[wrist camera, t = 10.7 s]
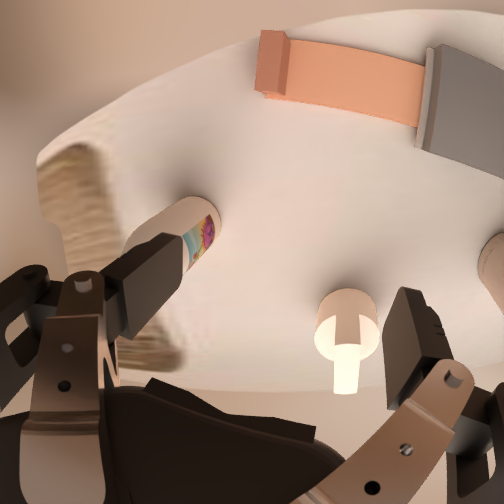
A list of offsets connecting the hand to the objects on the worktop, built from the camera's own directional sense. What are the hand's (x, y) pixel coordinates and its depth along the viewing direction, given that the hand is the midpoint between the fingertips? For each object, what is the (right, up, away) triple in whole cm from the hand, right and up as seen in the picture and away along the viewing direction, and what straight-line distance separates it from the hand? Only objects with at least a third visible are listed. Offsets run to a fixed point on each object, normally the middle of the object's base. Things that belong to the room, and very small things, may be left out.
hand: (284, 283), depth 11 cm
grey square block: (+25, +18, +17) cm, 36 cm away
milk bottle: (-9, +6, +33) cm, 35 cm away
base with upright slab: (+13, -8, +33) cm, 37 cm away
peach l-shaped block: (+11, +21, +20) cm, 31 cm away
